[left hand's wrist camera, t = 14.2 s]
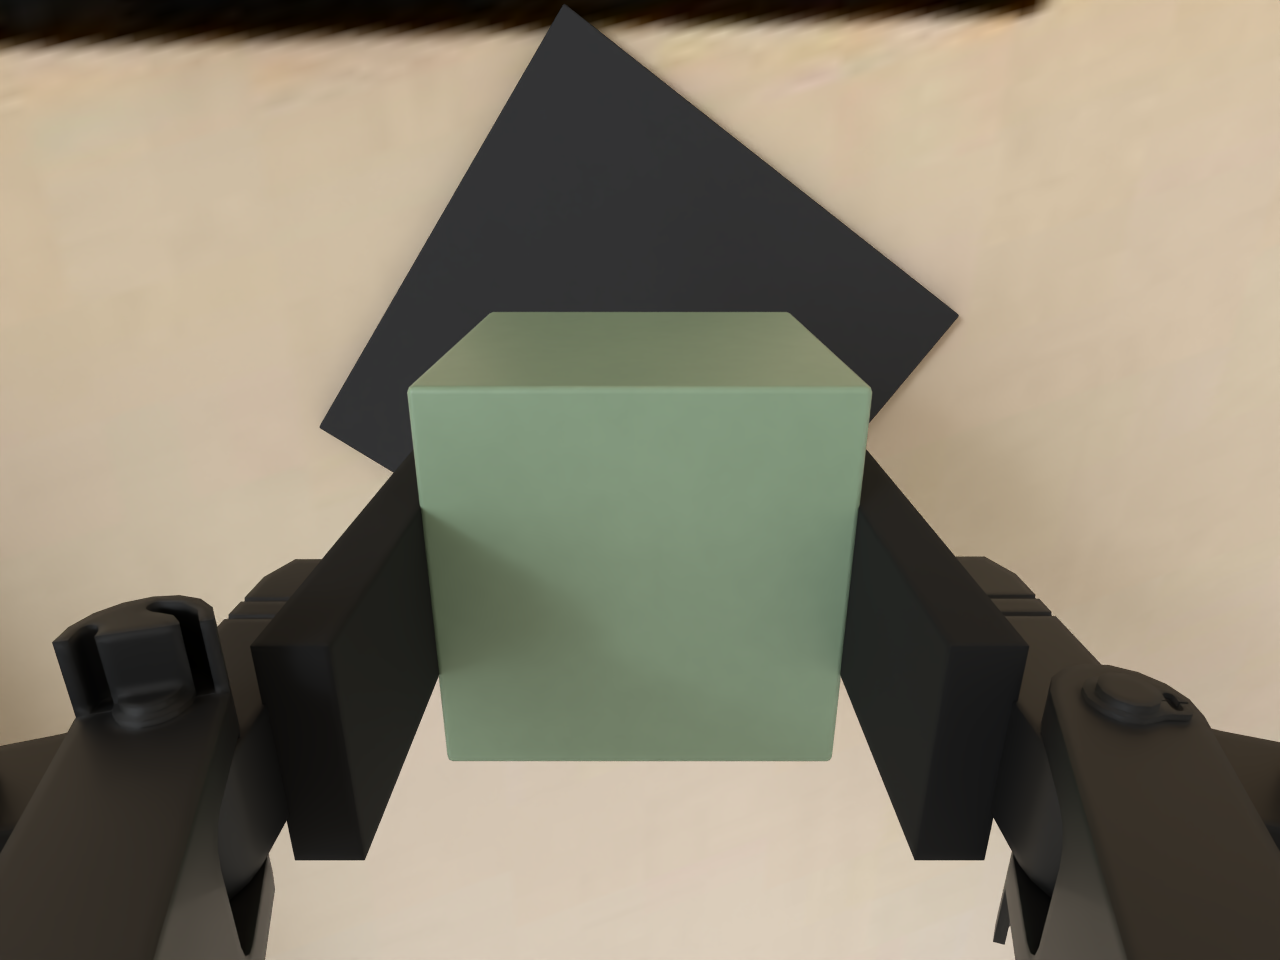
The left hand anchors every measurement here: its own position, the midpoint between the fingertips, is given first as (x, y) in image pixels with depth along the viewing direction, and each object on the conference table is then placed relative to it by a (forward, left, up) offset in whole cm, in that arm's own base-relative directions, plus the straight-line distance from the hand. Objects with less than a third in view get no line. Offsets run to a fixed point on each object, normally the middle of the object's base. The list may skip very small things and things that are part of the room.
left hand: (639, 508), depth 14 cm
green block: (0, 0, -3) cm, 3 cm away
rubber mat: (0, 0, -11) cm, 11 cm away
